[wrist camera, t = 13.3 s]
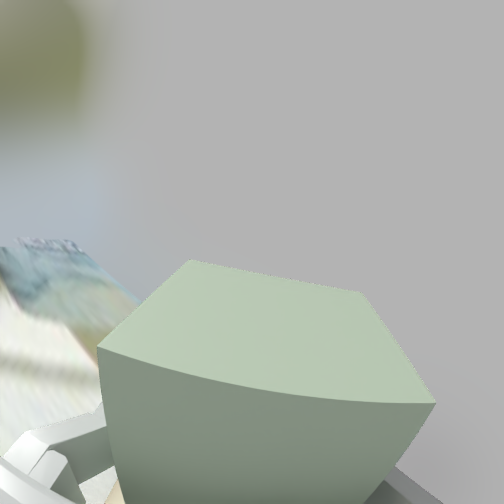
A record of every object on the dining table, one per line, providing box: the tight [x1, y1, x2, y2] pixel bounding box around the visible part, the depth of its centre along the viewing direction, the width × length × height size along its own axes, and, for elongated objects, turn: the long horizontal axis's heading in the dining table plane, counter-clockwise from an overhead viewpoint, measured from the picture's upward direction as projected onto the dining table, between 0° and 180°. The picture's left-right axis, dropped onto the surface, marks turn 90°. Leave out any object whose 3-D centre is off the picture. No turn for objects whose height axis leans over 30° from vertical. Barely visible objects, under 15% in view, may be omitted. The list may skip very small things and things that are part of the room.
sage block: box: [97, 260, 436, 504], centre depth 7 cm, size 5×5×10 cm
